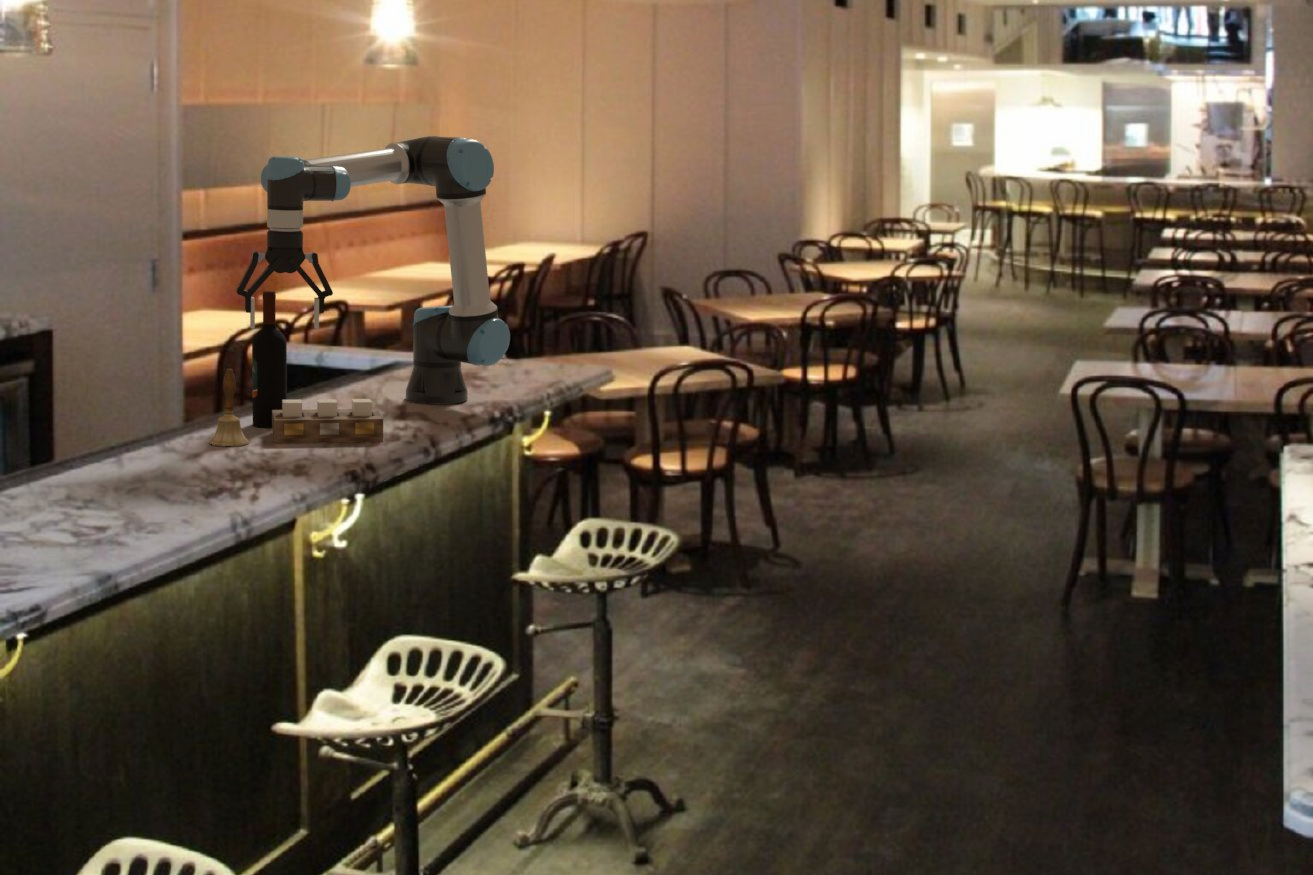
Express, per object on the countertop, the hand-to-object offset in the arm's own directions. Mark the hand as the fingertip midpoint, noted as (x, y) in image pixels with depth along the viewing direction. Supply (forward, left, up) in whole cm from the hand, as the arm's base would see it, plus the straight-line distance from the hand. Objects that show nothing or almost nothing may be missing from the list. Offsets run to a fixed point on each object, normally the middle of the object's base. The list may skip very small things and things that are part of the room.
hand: (284, 328), depth 390 cm
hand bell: (+12, +8, -24) cm, 28 cm away
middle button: (-9, +3, -20) cm, 23 cm away
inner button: (-16, +3, -20) cm, 26 cm away
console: (-9, +3, -24) cm, 25 cm away
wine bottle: (+3, -12, -24) cm, 27 cm away
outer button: (-1, +3, -21) cm, 21 cm away
